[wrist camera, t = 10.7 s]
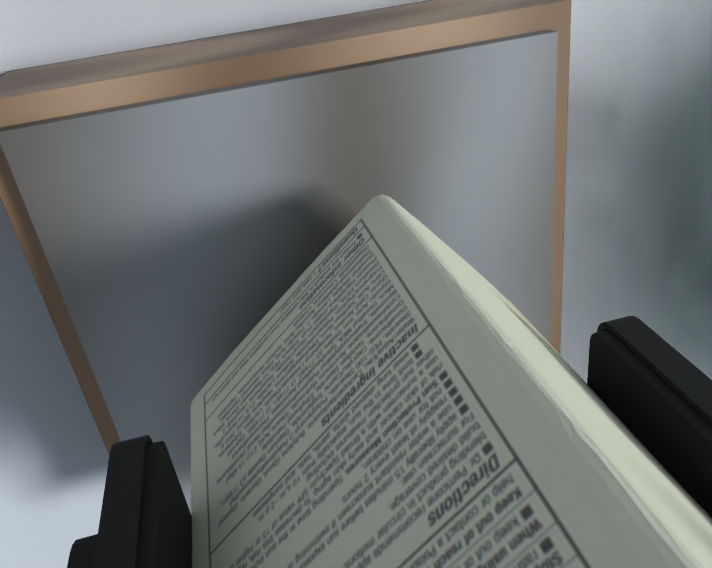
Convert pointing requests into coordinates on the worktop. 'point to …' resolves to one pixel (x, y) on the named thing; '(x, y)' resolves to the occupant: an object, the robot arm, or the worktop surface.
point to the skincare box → (419, 430)
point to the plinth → (276, 181)
